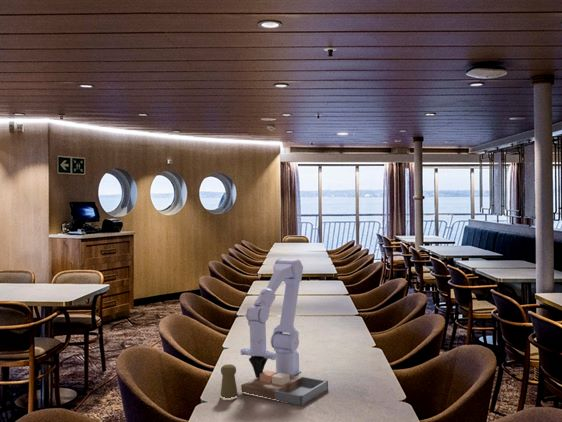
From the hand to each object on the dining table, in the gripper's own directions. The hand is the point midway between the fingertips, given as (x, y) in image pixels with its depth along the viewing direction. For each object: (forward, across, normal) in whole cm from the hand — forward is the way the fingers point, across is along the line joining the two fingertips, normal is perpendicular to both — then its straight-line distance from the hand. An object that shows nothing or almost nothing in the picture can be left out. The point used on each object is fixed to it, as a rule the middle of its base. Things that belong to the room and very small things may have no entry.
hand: (258, 376), depth 199 cm
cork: (+4, -3, -14) cm, 15 cm away
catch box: (+3, +18, 0) cm, 18 cm away
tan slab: (+3, +6, 0) cm, 7 cm away
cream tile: (0, +9, 0) cm, 9 cm away
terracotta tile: (0, +4, 0) cm, 4 cm away
